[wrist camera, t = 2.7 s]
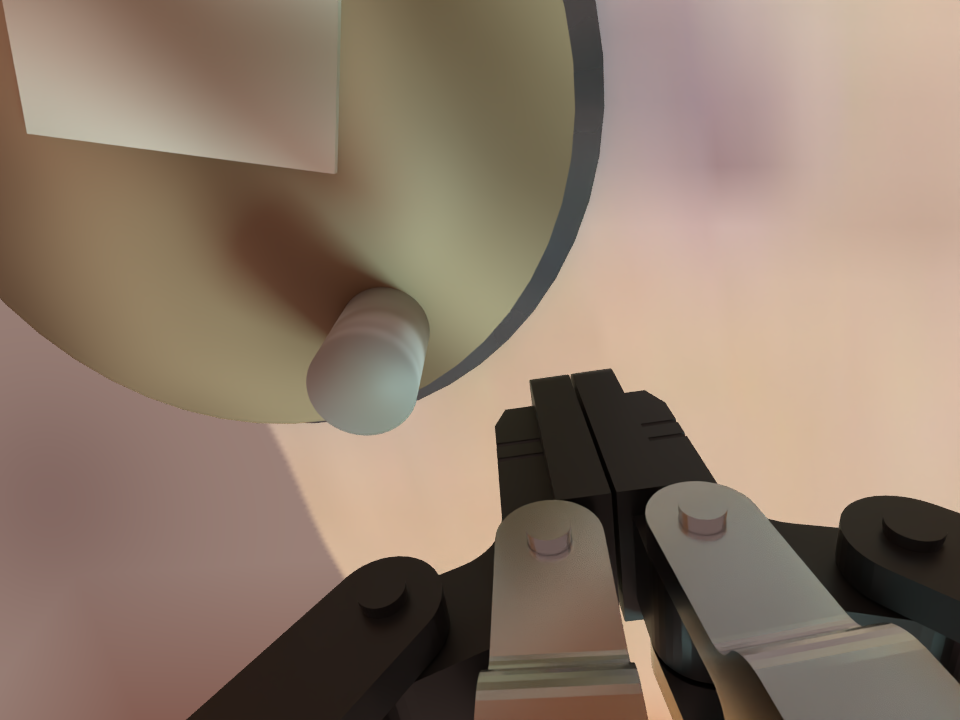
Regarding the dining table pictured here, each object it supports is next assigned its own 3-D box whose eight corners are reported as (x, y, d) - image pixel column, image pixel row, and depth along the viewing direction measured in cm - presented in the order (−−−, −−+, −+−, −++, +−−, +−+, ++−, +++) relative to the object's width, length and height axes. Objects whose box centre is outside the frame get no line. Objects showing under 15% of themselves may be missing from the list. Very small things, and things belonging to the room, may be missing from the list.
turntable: (286, -556, 10) (139, -1051, 6) (672, 220, 16) (746, 269, 11) (-231, 16, 14) (-562, -21, 9) (235, 480, 19) (163, 593, 15)
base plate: (364, -700, 10) (357, -745, 9) (753, 200, 16) (762, 204, 16) (-257, 5, 14) (-286, 1, 14) (242, 498, 21) (235, 509, 20)
